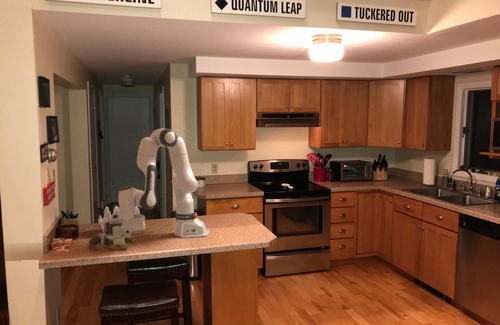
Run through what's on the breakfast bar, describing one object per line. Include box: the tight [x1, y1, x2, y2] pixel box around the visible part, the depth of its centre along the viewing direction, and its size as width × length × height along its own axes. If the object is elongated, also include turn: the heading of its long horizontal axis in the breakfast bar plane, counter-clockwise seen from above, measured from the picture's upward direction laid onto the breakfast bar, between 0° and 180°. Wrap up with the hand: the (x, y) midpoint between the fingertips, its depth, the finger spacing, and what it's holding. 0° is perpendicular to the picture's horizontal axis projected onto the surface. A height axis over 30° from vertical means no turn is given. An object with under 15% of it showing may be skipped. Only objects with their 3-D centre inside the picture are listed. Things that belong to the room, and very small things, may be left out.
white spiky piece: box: [98, 205, 141, 233], centre depth 262 cm, size 18×18×25 cm
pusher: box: [99, 232, 107, 245], centre depth 232 cm, size 4×12×7 cm, turn 1°
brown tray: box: [88, 232, 135, 252], centre depth 232 cm, size 21×16×6 cm
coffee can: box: [105, 222, 125, 245], centre depth 232 cm, size 10×10×14 cm
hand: (127, 237), depth 232 cm, fingers closed
